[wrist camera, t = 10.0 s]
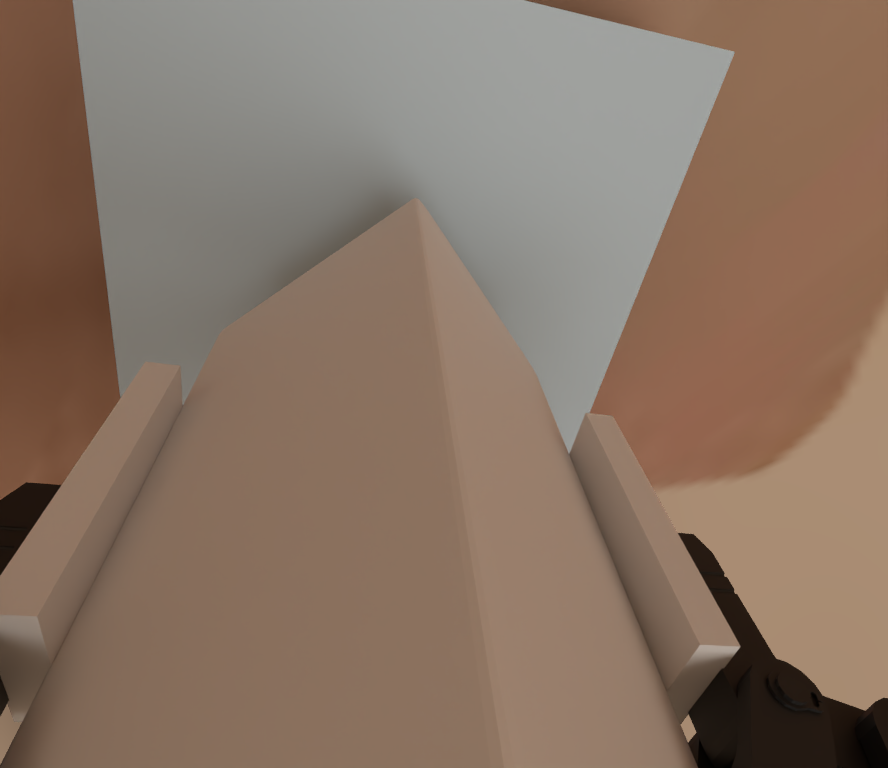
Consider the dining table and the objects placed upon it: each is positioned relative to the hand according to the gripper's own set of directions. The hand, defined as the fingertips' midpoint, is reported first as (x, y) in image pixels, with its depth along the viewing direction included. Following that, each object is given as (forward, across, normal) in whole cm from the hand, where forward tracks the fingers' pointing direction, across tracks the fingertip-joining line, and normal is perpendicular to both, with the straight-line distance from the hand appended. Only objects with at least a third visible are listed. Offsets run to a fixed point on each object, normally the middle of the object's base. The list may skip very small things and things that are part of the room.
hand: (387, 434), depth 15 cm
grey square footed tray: (+16, 0, 0) cm, 16 cm away
